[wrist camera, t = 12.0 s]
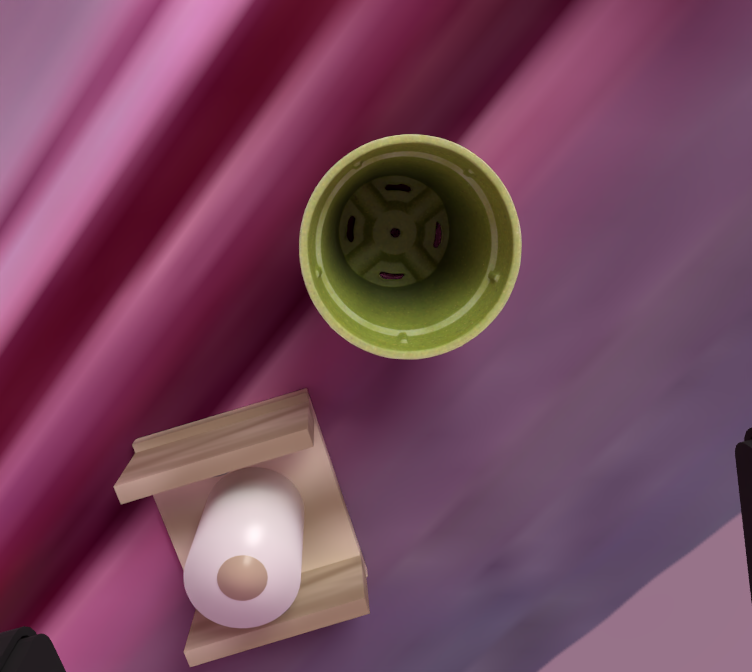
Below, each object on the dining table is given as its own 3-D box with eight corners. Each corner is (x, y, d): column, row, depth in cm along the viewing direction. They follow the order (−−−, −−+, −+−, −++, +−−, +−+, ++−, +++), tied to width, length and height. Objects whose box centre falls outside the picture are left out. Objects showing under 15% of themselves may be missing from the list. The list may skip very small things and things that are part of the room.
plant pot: (303, 315, 39) (297, 357, 30) (306, 136, 37) (300, 128, 28) (471, 319, 40) (511, 362, 31) (484, 144, 37) (531, 139, 29)
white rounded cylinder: (191, 483, 40) (166, 545, 33) (287, 455, 40) (279, 511, 33) (224, 568, 41) (206, 643, 35) (316, 540, 41) (315, 610, 35)
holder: (135, 439, 40) (109, 477, 35) (306, 388, 40) (304, 419, 35) (207, 616, 43) (193, 674, 38) (366, 568, 43) (372, 621, 38)
